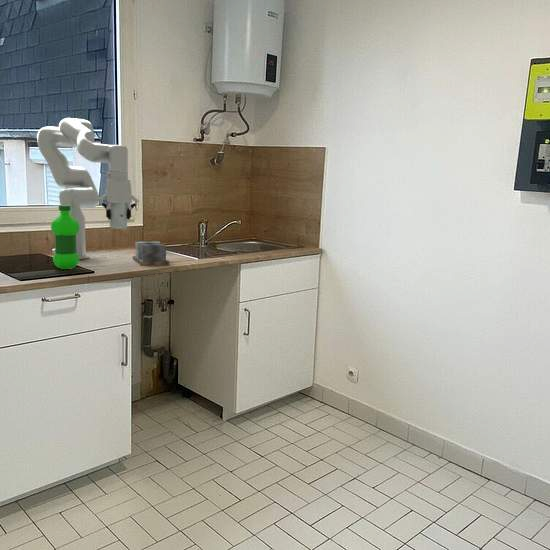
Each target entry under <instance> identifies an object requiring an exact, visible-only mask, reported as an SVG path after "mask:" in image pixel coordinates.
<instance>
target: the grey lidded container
mask: <svg viewBox="0 0 550 550" xmlns="http://www.w3.org/2000/svg"><path fill="white" fill-rule="evenodd" d="M134 245H135V247H134V248H135V249H134V251H135V253H134V254H135V255H133V256H132V260H133V261H134V262H136V264H138V265H139V266H169V265H170V261H169V260H168V259H167V244H161V242H160V241H135V244H134Z"/></svg>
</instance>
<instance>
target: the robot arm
mask: <svg viewBox="0 0 550 550" xmlns="http://www.w3.org/2000/svg"><path fill="white" fill-rule="evenodd" d="M36 139H37V140H36V142H37V146H38V150H39V151H40V153H41V155H42V156H43V159H44V160H45V162H46V163H47V165H48V167H49V170H50V172H51V175H52V178H53V179H54V181H55V183H56V185H57V186H59V187H61V188H62V189H61V190H60V192H59V195H58V200H59V203H60V206H63V205H64V206H70V211H69V215H70V216H71V217H73V218H74V219H75V220H76V221H77V222H78V224H79V232H78V233H77V234H76V253H77V255H78V257H79V260H82V259H84V260H85V259H88V258H90V254H89V253H87V252H86V218H85V215H84V213H83V211H82V210H81V209H93V208H95V207H97V206H98V204H99V203H100V205H101V206H102V207H103V208H105V212H106V213H105V216H106V218H107V220H108V221H110V219H111V212H110V206H111V204H121V203H122V200H124V204H126V205H127V221H128V220H130V219H131V218H132V209H134V207H136V205H137V204H138V203H139V202H140V201H139V199H138V198H136V197H135V196H134V195H133V194H132V193H133V192H132V185H131V179H129V159H128V158H129V156H128V155H129V154H128V153H129V151H128V146H125V145H124V144H123V145H122V144H104V143H94V142H95V134H94V127H93V124H92V123H91V122H90V121H89V120H86V119H82V118H73V117H72V118H71V117H66V118H63V119H62V120H60V122H59V124H58V126H44V127H42V128H40V129H39V130H38V132H37V135H36ZM75 147H76V149H77V152H78V154H79V155H81V157H82V158H84V159H86V160H87V161H89V162H91V163H100V164H102V163H103V164H108V172H104V176H105V177H108V178H107V179H106V185H105V193H104V194H103V195H102V196H99V193H98V189H97V188H96V185H95V183H94V180H93V177H92V176H91V174H90V172H89V171H88V170H87V169H86V168H85V167H82V166H76V165H75V166H73V165H71V164H70V163H69V160H68V159H67V156H66V155H65V153H63V152H62V150H60V149H59V148H75ZM104 200H105V202H106V203H105V202H104ZM132 201H133V202H132ZM51 253H52V254H55V248H53V249H52V251H51Z"/></svg>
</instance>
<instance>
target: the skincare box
mask: <svg viewBox="0 0 550 550" xmlns="http://www.w3.org/2000/svg"><path fill="white" fill-rule="evenodd" d="M110 212H111V219H110V220H109V228H110V229H119V230H120V229H121V230H125V229H127V228H128V219H127V205H126V204H124V200H122V203H121V204H111V206H110Z"/></svg>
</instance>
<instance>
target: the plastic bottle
mask: <svg viewBox="0 0 550 550" xmlns="http://www.w3.org/2000/svg"><path fill="white" fill-rule="evenodd" d="M58 211H59V212H60V213H59V215H58V216H57V217H55V219H53V220H52V221H51V223H50V230H51V232H52V234H54V249H55V253H53V254H54V255H53V257H52V261H53V264H54V265H55V266H56V267H57V268H58V269H59V268H61V269H68V268H73V269H74V268H76V266H78V264H79V263H80V259H79V257H78V255H77V253H76V234H77V233H78V232H79V224H78V222H77V221H76V220H75V219H74V218H73V217H71V216H70V215H69V211H70V206H64V205H63V206H61V205H58Z"/></svg>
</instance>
